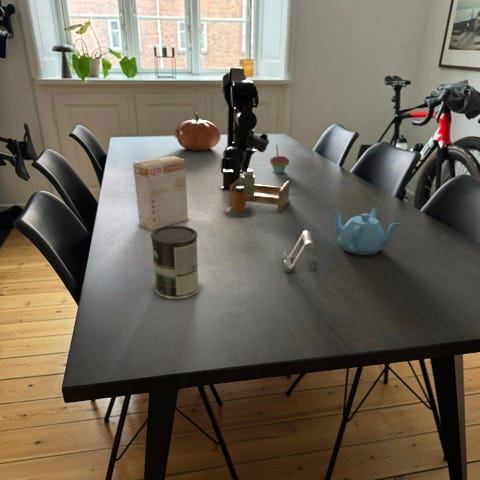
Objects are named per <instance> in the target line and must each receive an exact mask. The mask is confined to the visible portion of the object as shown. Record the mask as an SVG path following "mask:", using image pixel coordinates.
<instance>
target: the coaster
mask: <svg viewBox="0 0 480 480" xmlns="http://www.w3.org/2000/svg"><path fill="white" fill-rule="evenodd" d="M252 213H253V211H252V210H251V208H248V207H245V212H243V213H236V212H233V206H230V207H228V208H226V209H225V214H226V216H229V217H232V218H247V217H249V216H252Z"/></svg>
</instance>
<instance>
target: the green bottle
mask: <svg viewBox="0 0 480 480" xmlns="http://www.w3.org/2000/svg"><path fill="white" fill-rule="evenodd" d="M242 176H243V178H242V186H243V187H244V193H246V194H254V184H256V181H255V180H256V176H255V175H254V169H251V168H248V171H247V172H244V173H243V174H242Z"/></svg>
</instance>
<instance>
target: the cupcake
mask: <svg viewBox="0 0 480 480" xmlns="http://www.w3.org/2000/svg"><path fill="white" fill-rule="evenodd" d="M275 151H276V155H274V156H272V157H271V158H270V160H269V162H270V165H271V167H272V171H273V173H275V174H283V173H285V171H286V168H287V166H289V164H290V160H289V158H288V157H286V156H285V155H279V148H278V144H277V143H276V144H275Z"/></svg>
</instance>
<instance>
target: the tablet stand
mask: <svg viewBox="0 0 480 480" xmlns="http://www.w3.org/2000/svg"><path fill="white" fill-rule="evenodd" d="M302 241H303V244H302V246H301V248H300V249H299V252H298V253H297V255H296V256H295V258H294V260H293V262H291V261H292V258H293V256H294V254H295V252H296V251H297V250H298V248H299V245H300V244H301V242H302ZM314 247H315V245H314V242H313V238H312V235H311V232H310V231H309V230H304V231H302V233H301V235H300V237H299V238H298V240H297V242H296V243H295V245H294V247H293V249H292V251H291V252H290V253H289V254H287V251H283V255H282V256H283V265H284V270H285V272H287V273H291V272H292V271H293V270H294V268H295V267H296V265H297V263H298V261H299V259H300V258H301V256H302V254H303V253H304V251H306V253H307V256H308V259H309V262H310V265H311V267H312V270H315V267H314V263H313V260H312V257H311V253H310V251H312V250H313V249H314Z"/></svg>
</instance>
